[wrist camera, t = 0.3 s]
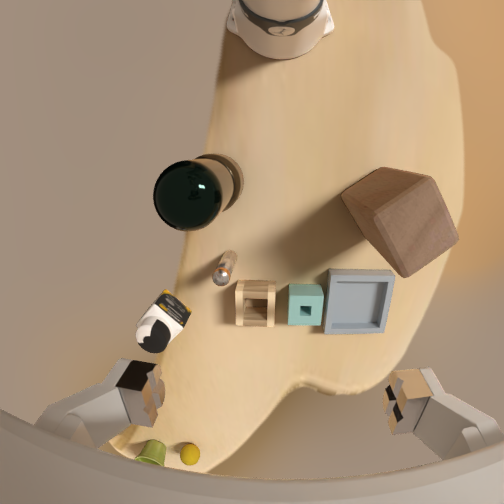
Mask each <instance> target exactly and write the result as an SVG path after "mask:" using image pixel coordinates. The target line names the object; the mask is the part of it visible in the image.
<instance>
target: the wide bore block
mask: <svg viewBox="0 0 504 504" xmlns="http://www.w3.org/2000/svg"><path fill="white" fill-rule="evenodd" d="M275 291H276V281H257V280H238V283H237V287H236V290H235V308H236V325H239V326H262V327H274V319H275ZM246 298H253V299H268V308H264V307H246Z"/></svg>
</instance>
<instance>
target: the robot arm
mask: <svg viewBox="0 0 504 504" xmlns="http://www.w3.org/2000/svg"><path fill="white" fill-rule="evenodd" d="M233 19H234V21H233ZM327 21H328V23H327ZM227 29H228V30H229V31H230V32H232V33H234V34H236V35H238V36H240V37H241V38H242V39H243V40H244V42H245V43H246V44H247V45H248V46H249V47H250V48H251V49H252V50H254V51H255V52H257V53H258V54H260V55H263V56H265V57H269V58H273V59H291V58H295V57H299V56H301V55H303V54H305V53H307V52H308V51H310V50H311V49H312V48H313V47H314V46H315V45H316V44H317V42H318V41H319V40H320V39H321V38H322V37H324V36H326V35H328V34H330V33H332V32H333V30H334V23H333V20H332V17H331V14H330V11H329V8H328V4H327V1H326V0H232V5H231V9H230V13H229V16H228V20H227ZM161 374H162V371H161V367H160V365H158V364H154V363H147V362H142V361H136V360H129V359H124V358H121V359H119V360H118V361H117V363H116V364H115V365H114V367H113V368H112V370H111V371H110V372H109V374H108V375H107V377H106V378H105V380H104V381H103V383H102V384H99V383H98V384H96V385H93V386H91V387H89V388H87V389H85V390H82V391H80V392H78V393H76V394H73V395H71V396H69V397H67V398H64V399H62V400H60V401H58V402H55V403H53V404H51V405H49V406H48V407H47V408H46V410H45V411H44V412H43V414H42V415H41V416H40V417H39V419H38V420H37V422H36V423H35V424H34V425H33V424H30V423H28V422H26V421H24V420H22V419H19V418H17V417H16V416H14V415H12V414H10V413H8V412H6V411H4V410H2V409H0V504H504V434H503V433H502V431H501V429H500V428H499V426H498V424H497V423H496V421H495V419H493V418H491V417H490V416H488V415H486V414H484V413H483V412H481V411H479V410H477V409H476V408H474V407H472V406H470V405H469V404H467V403H465V402H463V401H462V400H460V399H458V398H456V397H454V396H453V395H451V394H446V393H445V391H444V389H443V388H442V386H441V384H440V383H439V381H438V379H437V377H436V376H435V374H434V372H433V371H432V369H431V368H430V367H423V368H417V369H409V370H399V371H392V372H391V373H390V376H389V379H388V380H389V383H390V385H389V386H388V387H387V388H386V389H385V391H384V395H383V409H384V412H385V414H387V415H388V416H390V418H389V420H388V424H389V427H390V430H391V433H392V435H395V434H404V433H411V432H413V434H414V435H415V436H416V437H418V438H419V439H420V440H421V441H422V442H423V443H424V444H425V445H427V446H428V447H429V448H430V449H431V450H432V451H433V452H434V453H436V454H437V455H438V456H439V457H440V458H441V459H442V461H438V462H434V463H430V464H425V465H421V466H416V467H411V468H406V469H400V470H395V471H388V472H382V473H375V474H368V475H358V476H348V477H336V478H320V479H264V478H246V477H234V476H223V475H214V474H206V473H199V472H192V471H186V470H180V469H175V468H169V467H164V466H159V465H155V464H150V463H146V462H141V461H137V460H133V459H129V458H126V457H122V456H118V455H114V454H111V453H108V452H104V451H101V450H98V449H97V448H99V447H100V446H102V445H103V444H105V443H106V442H108V441H109V440H110V439H112V438H113V437H115V436H116V435H117V434H119V433H120V432H122V431H123V430H124V429H126V428H127V427H128V426H130V425H131V424H136V425H141V426H147V427H153V425H154V423H155V421H156V418H157V416H158V413H157V409H158V408H160V407H161V406H162V404H163V402H164V398H165V385H164V382H163V381H162V380H161V379H160V376H161ZM130 423H131V424H130Z"/></svg>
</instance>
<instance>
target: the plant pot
mask: <svg viewBox="0 0 504 504" xmlns="http://www.w3.org/2000/svg"><path fill="white" fill-rule="evenodd" d="M165 454H166V446H165V445H164V444H163V443H161V442H158V441H157V440H149V441H148V442H147V444H146V445H145V447H144V448H143V450H142V452H141V453H140V454H139V455H138V456H137V457H136V458H135V459H134V460H137V461H141V462H146V463H150V464H155V465H159V466H164V460H165Z"/></svg>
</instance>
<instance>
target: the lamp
mask: <svg viewBox="0 0 504 504" xmlns="http://www.w3.org/2000/svg"><path fill="white" fill-rule="evenodd" d="M243 185H244V178H243V173H242V171H241V169H240V167H239V165H238V164H237V163H236V162H235V161H234V160H233V159H231V158H230V157H228V156H226V155H222V154H206V155H202V156H199V157H197V158H195V159H193V160H185V161H180V162H176V163H174V164H172V165H170V166H169V167H168V168H166V169H165V170H164V171H163V172H162V173H161V174H160V176H159V178H158V179H157V181H156V183H155V187H154V192H153V200H154V205H155V208H156V211H157V213H158V215H159V216H160V217H161V219H162V220H163V221H164V222H165V223H166V224H167V225H169V226H170V227H173V228H174V229H177V230H180V231H196V230H200V229H202V228H204V227H206V226H208V225H209V224H210V223H212V222H213V221H214V220H215V218H216V217H217V216H218V215H219V214H220V213H221V212H223V211H225V210H227V209H229V208H230V207H231V206H232V205H233V204H234V203H235V202H236V200H237V199H238V198H239V196H240V195H241V193H242V190H243Z"/></svg>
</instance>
